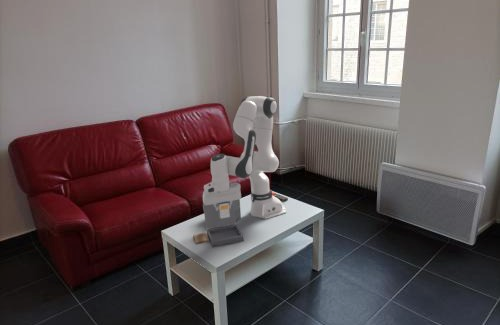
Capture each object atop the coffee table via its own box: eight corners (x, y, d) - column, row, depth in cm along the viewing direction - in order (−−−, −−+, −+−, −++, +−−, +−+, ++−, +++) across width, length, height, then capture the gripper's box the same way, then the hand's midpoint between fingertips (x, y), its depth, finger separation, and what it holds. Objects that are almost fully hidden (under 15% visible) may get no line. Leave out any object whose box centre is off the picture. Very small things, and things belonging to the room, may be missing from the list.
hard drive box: (217, 214, 226) (214, 184, 220) (227, 210, 231) (224, 181, 225) (231, 222, 214) (228, 191, 208) (241, 218, 219) (239, 187, 213)
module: (227, 212, 197) (225, 198, 195) (229, 217, 191) (228, 203, 189) (218, 214, 196) (216, 200, 193) (220, 218, 190) (219, 205, 188)
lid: (236, 223, 205) (235, 223, 206) (232, 198, 206) (232, 198, 207) (206, 229, 201) (206, 228, 202) (202, 203, 202) (202, 203, 203)
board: (206, 233, 203) (205, 232, 202) (209, 241, 195) (209, 239, 194) (193, 236, 201) (193, 234, 201) (196, 244, 193) (196, 242, 192)
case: (236, 229, 206) (236, 224, 205) (243, 240, 193) (243, 235, 192) (207, 235, 202) (207, 230, 201) (212, 247, 189) (212, 242, 188)
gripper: (238, 179, 194) (240, 203, 198) (200, 186, 188) (203, 210, 193) (241, 183, 188) (243, 208, 192) (202, 190, 183) (205, 215, 187)
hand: (223, 209), depth 193 cm, fingers closed on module, 5 cm apart
